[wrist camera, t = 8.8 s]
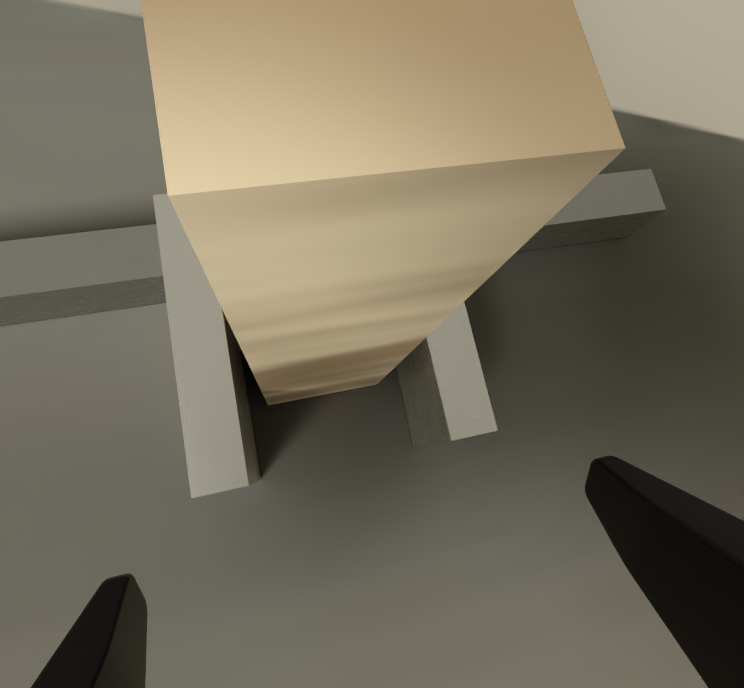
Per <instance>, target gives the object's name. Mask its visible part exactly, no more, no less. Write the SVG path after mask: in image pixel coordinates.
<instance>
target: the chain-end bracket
mask: <svg viewBox="0 0 744 688" xmlns="http://www.w3.org/2000/svg"><path fill="white" fill-rule="evenodd" d="M153 201H154V208H155V216H156V224H152V225H143V226H134V227H125V228H116V229H107V230H98V231H89V232H80V233H71V234H62V235H54V236H45V237H36V238H27V239H18V240H9V241H0V326H5V325H12V324H19V323H26V322H33V321H40V320H47V319H54V318H61V317H68V316H75V315H82V314H89V313H96V312H103V311H110V310H117V309H124V308H131V307H138V306H145V305H152V304H159V303H167V311H168V318H169V326H170V334H171V342H172V350H173V358H174V366H175V373H176V381H177V389H178V397H179V405H180V413H181V421H182V428H183V436H184V444H185V452H186V460H187V468H188V476H189V484H190V491H191V498H195V497H199V496H204V495H208V494H213V493H218V492H222V491H227V490H231V489H236V488H240V487H245V486H249V485H251V484H253V483H255V482H257V481H259V480H261V478H260V472H259V466H258V459H257V453H256V447H255V440H254V434H253V427H252V421H251V415H250V408H249V402H248V396H247V389H246V383H245V376H244V370H243V364H242V357H241V351H240V346H239V343H238V341H237V339H236V337H235V335H234V333H233V331H232V329H231V327H230V325H229V322H228V320H227V318H226V316H225V314H224V312H223V310H222V308H221V306H220V304H219V302H218V299H217V297H216V295H215V293H214V291H213V289H212V287H211V285H210V283H209V281H208V279H207V276H206V274H205V272H204V270H203V268H202V266H201V264H200V262H199V260H198V258H197V256H196V253H195V251H194V249H193V247H192V245H191V243H190V241H189V239H188V237H187V235H186V232H185V230H184V228H183V226H182V224H181V222H180V220H179V218H178V216H177V214H176V212H175V209H174V207H173V205H172V203H171V201H170V199H169V197H168V194H159V195H153ZM664 210H666V208H665V205H664V202H663V199H662V197H661V194H660V191H659V189H658V186H657V183H656V180H655V178H654V175H653V172H652V169H644V170H635V171H626V172H617V173H608V174H599V175H597V176H596V177H595V178H594V179H592V180H591V181H590V182H589V183H588V184H587V185H586V186H585V187H584V188H583V189H582V190H581V191H580V192H579V193H578V194H577V195H576V196H575V197H574V198H572V199H571V200H570V201H569V202H568V203H567V204H566V205H565V206H564V207H563V208H562V209H561V210H560V211H559V212H558V213H557V214H556V215H555V216H554V217H552V218H551V219H550V220H549V221H548V222H547V223H546V224H545V225H544V226H543V227H542V228H541V229H540V230H539V231H538V232H537V233H536V234H535V235H534V236H533V237H531V238H530V239H529V240H528V241H527V242H526V243H525V244H524V245H523V246H522V247H521V248H520V249H519V250H518V251H517V252H524V251H531V250H538V249H545V248H552V247H559V246H566V245H573V244H580V243H587V242H594V241H601V240H608V239H615V238H622V237H626V236H628V235H629V234H631V233H632V232H634V231H635V230H637V229H638V228H640V227H641V226H642V225H644V224H645V223H647V222H648V221H650V220H651V219H653V218H654V217H656V216H657V215H659V214H660V213H662V212H663V211H664ZM517 252H516V253H517ZM396 369H397V374H398V378H399V383H400V387H401V392H402V396H403V401H404V405H405V410H406V414H407V419H408V423H409V428H410V432H411V437H412V441H413V445H414V446H418V445H425V444H432V443H440V442H447V441H453V440H458V439H462V438H467V437H471V436H476V435H480V434H485V433H489V432H494V431H498V430H497V426H496V422H495V418H494V414H493V410H492V407H491V403H490V399H489V395H488V391H487V387H486V384H485V380H484V376H483V372H482V368H481V364H480V360H479V357H478V353H477V349H476V345H475V341H474V337H473V334H472V330H471V326H470V322H469V318H468V314H467V311H466V307H465V303H464V302H463V303H462V304H461V305H460V306H459V307H458V308H457V309H456V310H455V311H454V312H453V313H452V314H450V315H449V316H448V317H447V318H446V319H445V320H444V321H443V322H442V323H441V324H440V325H439V326H438V327H437V328H436V329H435V330H434V331H433V332H432V333H430V334H429V335H428V336H427V337H426V338H425V339H424V340H423V341H422V342H421V343H420V344H419V345H418V346H417V347H416V348H415V349H414V350H413V351H412V352H410V353H409V354H408V355H407V356H406V357H405V358H404V359H403V360H402V361H401V362H400V363H399V364H398V365H397V366H396Z"/></svg>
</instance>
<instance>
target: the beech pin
mask: <svg viewBox="0 0 744 688" xmlns="http://www.w3.org/2000/svg"><path fill="white" fill-rule="evenodd" d="M141 4H142V11H143V19H144V26H145V33H146V40H147V48H148V55H149V62H150V69H151V77H152V84H153V91H154V98H155V106H156V113H157V120H158V127H159V135H160V142H161V149H162V156H163V164H164V171H165V178H166V185H167V193H168V197H169V199H170V201H171V203H172V205H173V207H174V209H175V212H176V214H177V216H178V218H179V220H180V222H181V224H182V226H183V228H184V230H185V232H186V235H187V237H188V239H189V241H190V243H191V245H192V247H193V249H194V251H195V253H196V256H197V258H198V260H199V262H200V264H201V266H202V268H203V270H204V272H205V274H206V276H207V279H208V281H209V283H210V285H211V287H212V289H213V291H214V293H215V295H216V297H217V299H218V302H219V304H220V306H221V308H222V310H223V312H224V314H225V316H226V318H227V320H228V322H229V325H230V327H231V329H232V331H233V333H234V335H235V337H236V339H237V341H238V343H239V346H240V348H241V350H242V352H243V354H244V356H245V358H246V360H247V362H248V364H249V366H250V369H251V371H252V373H253V375H254V377H255V379H256V381H257V383H258V385H259V387H260V389H261V392H262V394H263V396H264V398H265V400H266V402H267V404H268V405H273V404H279V403H284V402H289V401H294V400H299V399H304V398H310V397H315V396H320V395H325V394H330V393H335V392H341V391H346V390H351V389H356V388H361V387H367V386H372V385H377V384H378V383H379V382H380V381H381V380H382V379H383V378H384V377H385V376H386V375H387V374H388V373H389V372H390V371H392V370H393V369H394V368H395V367H396V366H397V365H398V364H399V363H400V362H401V361H402V360H403V359H404V358H405V357H406V356H407V355H408V354H409V353H410V352H412V351H413V350H414V349H415V348H416V347H417V346H418V345H419V344H420V343H421V342H422V341H423V340H424V339H425V338H426V337H427V336H428V335H429V334H430V333H432V332H433V331H434V330H435V329H436V328H437V327H438V326H439V325H440V324H441V323H442V322H443V321H444V320H445V319H446V318H447V317H448V316H449V315H450V314H452V313H453V312H454V311H455V310H456V309H457V308H458V307H459V306H460V305H461V304H462V303H463V302H464V301H465V300H466V299H467V298H468V297H469V296H470V295H471V294H473V293H474V292H475V291H476V290H477V289H478V288H479V287H480V286H481V285H482V284H483V283H484V282H485V281H486V280H487V279H488V278H489V277H490V276H491V275H493V274H494V273H495V272H496V271H497V270H498V269H499V268H500V267H501V266H502V265H503V264H504V263H505V262H506V261H507V260H508V259H509V258H510V257H511V256H513V255H514V254H515V253H516V252H517V251H518V250H519V249H520V248H521V247H522V246H523V245H524V244H525V243H526V242H527V241H528V240H529V239H530V238H531V237H533V236H534V235H535V234H536V233H537V232H538V231H539V230H540V229H541V228H542V227H543V226H544V225H545V224H546V223H547V222H548V221H549V220H550V219H551V218H552V217H554V216H555V215H556V214H557V213H558V212H559V211H560V210H561V209H562V208H563V207H564V206H565V205H566V204H567V203H568V202H569V201H570V200H571V199H572V198H574V197H575V196H576V195H577V194H578V193H579V192H580V191H581V190H582V189H583V188H584V187H585V186H586V185H587V184H588V183H589V182H590V181H591V180H592V179H594V178H595V177H596V176H597V175H598V174H599V173H600V172H601V171H602V170H603V169H604V168H605V167H606V166H607V165H608V164H609V163H610V162H611V161H612V160H613V159H615V158H616V157H617V156H618V155H619V154H620V153H621V152H622V151H623V150H624V149H625V145H624V142H623V140H622V137H621V134H620V131H619V129H618V126H617V123H616V120H615V117H614V115H613V112H612V109H611V106H610V104H609V101H608V98H607V95H606V93H605V90H604V87H603V84H602V81H601V79H600V76H599V73H598V70H597V68H596V65H595V62H594V59H593V57H592V54H591V51H590V48H589V45H588V43H587V40H586V37H585V34H584V32H583V29H582V26H581V23H580V21H579V18H578V15H577V13H576V10H575V7H574V4H573V1H572V0H141Z"/></svg>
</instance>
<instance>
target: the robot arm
mask: <svg viewBox="0 0 744 688" xmlns="http://www.w3.org/2000/svg"><path fill="white" fill-rule="evenodd" d="M585 492H586V496H587V498H588V500H589V502H590V504H591V505H592V507H593V509H594V511H595V513H596V514H597V516H598V518H599V520H600V522H601V523H602V525H603V527H604V529H605V531H606V533H607V534H608V536H609V538H610V540H611V542H612V543H613V545H614V547H615V549H616V551H617V552H618V554H619V556H620V558H621V559H622V561H623V563H624V564H625V566H626V567H627V569H628V571H629V572H630V574H631V575H632V577H633V578H634V580H635V581H636V583H637V584H638V585H639V587H640V588H641V590H642V591H643V593H644V594H645V596H646V597H647V599H648V600H649V602H650V603H651V604H652V606H653V607H654V609H655V610H656V612H657V613H658V615H659V616H660V618H661V619H662V621H663V622H664V623H665V625H666V626H667V628H668V629H669V631H670V632H671V634H672V635H673V637H674V638H675V640H676V641H677V643H678V644H679V645H680V647H681V648H682V650H683V651H684V653H685V654H686V656H687V657H688V659H689V660H690V662H691V663H692V664H693V666H694V667H695V669H696V670H697V672H698V673H699V675H700V676H701V678H702V679H703V681H704V682H705V683H706V685H707V686H708V688H744V521H743V520H741V519H739V518H737V517H735V516H733V515H731V514H729V513H727V512H725V511H723V510H721V509H719V508H717V507H715V506H713V505H711V504H709V503H707V502H705V501H703V500H701V499H699V498H697V497H695V496H693V495H691V494H689V493H687V492H685V491H683V490H681V489H679V488H677V487H675V486H673V485H671V484H669V483H667V482H665V481H663V480H661V479H659V478H657V477H655V476H653V475H651V474H649V473H647V472H645V471H643V470H641V469H639V468H637V467H635V466H633V465H631V464H629V463H627V462H625V461H623V460H621V459H619V458H617V457H614V456H605V457H601V458H597V459H594V460H593V461H592V462H591V465H590V469H589V472H588V476H587V480H586V484H585ZM146 642H147V605H146V601H145V598H144V596H143V594H142V592H141V590H140V588H139V586H138V584H137V582H136V580H135V578H134V577H133V575H131V574H123V575H119V576H115V577H111V578H108V579H106V580H105V581H104V582H103V583H102V584H101V585H100V587H99V588H98V590H97V591H96V593H95V594H94V595H93V597H92V598H91V600H90V601H89V603H88V604H87V606H86V607H85V609H84V610H83V612H82V613H81V615H80V616H79V617H78V619H77V620H76V622H75V623H74V625H73V626H72V628H71V629H70V631H69V632H68V634H67V635H66V637H65V638H64V640H63V641H62V642H61V644H60V645H59V647H58V648H57V650H56V651H55V653H54V654H53V656H52V657H51V659H50V660H49V662H48V663H47V665H46V666H45V667H44V669H43V670H42V672H41V673H40V675H39V676H38V678H37V679H36V681H35V682H34V684H33V685H32V687H31V688H145V676H146Z"/></svg>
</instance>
